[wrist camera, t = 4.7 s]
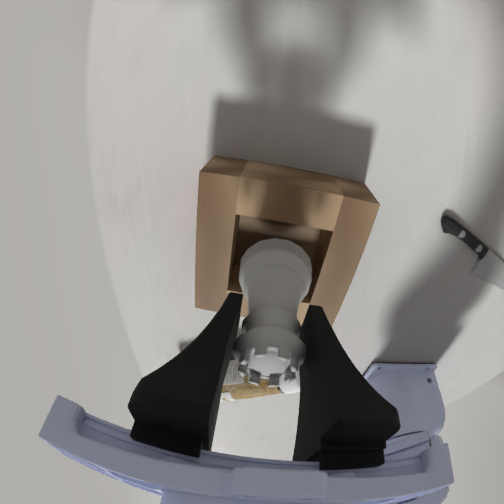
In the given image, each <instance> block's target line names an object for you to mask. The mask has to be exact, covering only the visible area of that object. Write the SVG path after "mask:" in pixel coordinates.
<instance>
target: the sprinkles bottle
mask: <svg viewBox="0 0 504 504" xmlns="http://www.w3.org/2000/svg"><path fill="white" fill-rule="evenodd" d="M237 369H238V363H237V362H236V360H230V362H229V366H228V369H227V372H226V376H225V379H224V383H223V388H222V393H221V398H220V402H225V401H233V400H241V399H249V398H253V397H259V396H266V395H272V394H277V393H285V394H290V393H295V392H299V391H300V377H299V372H296V378H295V379H294V380H293V381H291V382H290V383H288V382H286V381H284V377H283V378H280V387H269V385H268V384H269V379H263V378H260V383H259V385H258V386H257V385H254V384H251V383H249V382H248V379H249V374H248V373H247V376H242V377H241V376H240V374H239V372H238V370H237Z"/></svg>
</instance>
